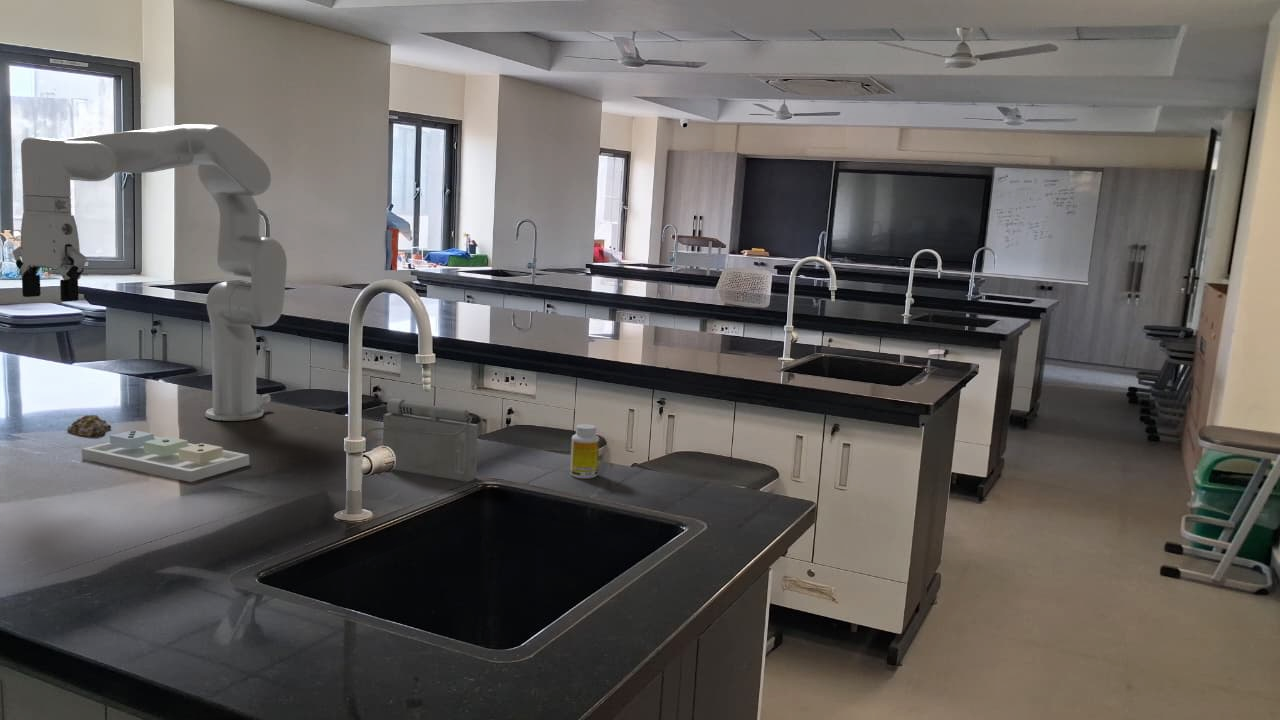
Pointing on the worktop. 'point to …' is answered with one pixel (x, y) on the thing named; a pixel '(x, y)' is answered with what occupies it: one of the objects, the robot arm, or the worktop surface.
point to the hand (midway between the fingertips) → (50, 298)
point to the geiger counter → (430, 439)
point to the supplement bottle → (584, 452)
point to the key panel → (164, 462)
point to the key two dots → (200, 453)
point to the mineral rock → (89, 426)
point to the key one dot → (164, 446)
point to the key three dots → (130, 439)
